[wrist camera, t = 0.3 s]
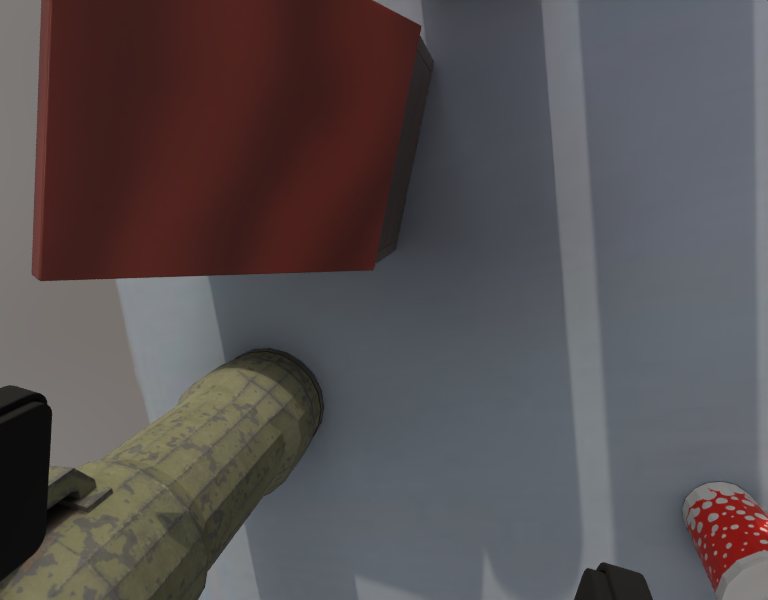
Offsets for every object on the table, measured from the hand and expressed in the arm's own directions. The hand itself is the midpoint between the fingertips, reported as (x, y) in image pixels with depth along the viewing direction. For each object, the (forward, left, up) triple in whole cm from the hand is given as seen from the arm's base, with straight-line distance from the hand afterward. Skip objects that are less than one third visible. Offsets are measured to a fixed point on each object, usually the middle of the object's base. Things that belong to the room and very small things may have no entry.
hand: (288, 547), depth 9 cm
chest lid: (-7, -8, -15) cm, 18 cm away
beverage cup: (+12, +22, -30) cm, 39 cm away
